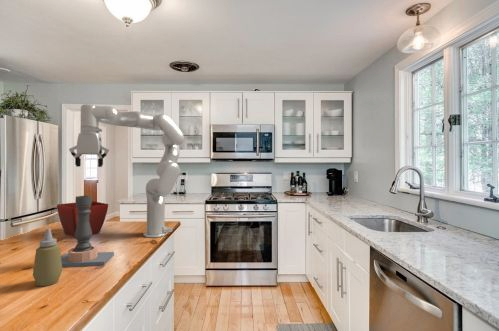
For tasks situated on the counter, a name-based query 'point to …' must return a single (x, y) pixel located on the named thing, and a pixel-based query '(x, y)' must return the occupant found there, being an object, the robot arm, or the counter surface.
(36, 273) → the squeeze bottle
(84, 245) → the candle holder
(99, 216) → the plant pot
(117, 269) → the counter surface
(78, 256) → the socket board
